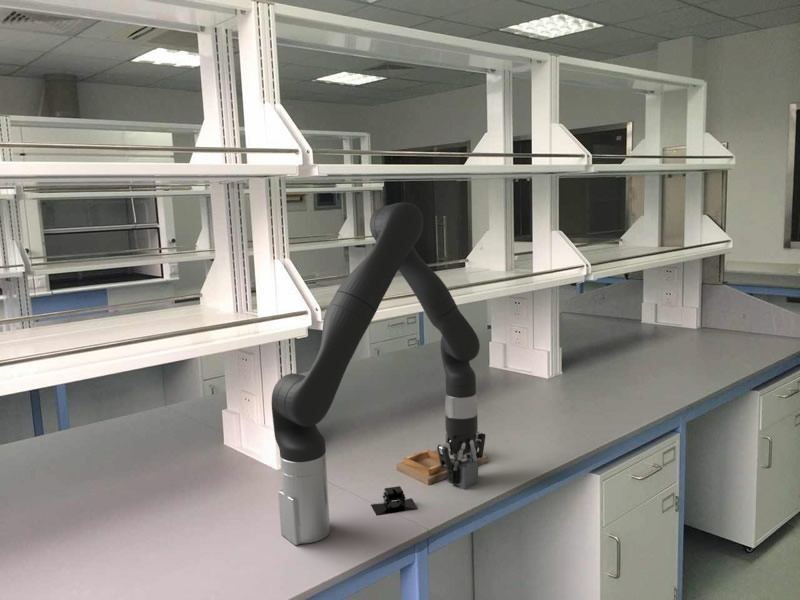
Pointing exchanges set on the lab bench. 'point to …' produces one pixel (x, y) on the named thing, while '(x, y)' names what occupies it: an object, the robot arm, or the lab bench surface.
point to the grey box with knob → (466, 473)
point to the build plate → (394, 502)
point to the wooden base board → (427, 466)
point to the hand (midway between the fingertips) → (462, 480)
